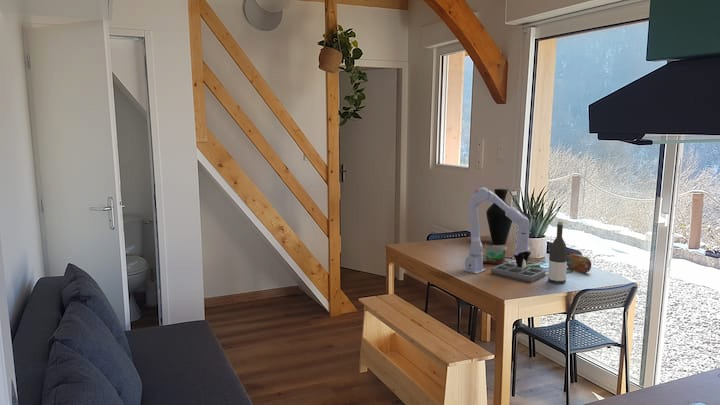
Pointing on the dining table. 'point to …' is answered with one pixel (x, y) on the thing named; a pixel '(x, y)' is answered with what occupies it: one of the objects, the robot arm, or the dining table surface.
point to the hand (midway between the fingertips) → (521, 266)
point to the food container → (495, 254)
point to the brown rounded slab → (578, 263)
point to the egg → (523, 265)
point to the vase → (498, 220)
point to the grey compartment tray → (518, 272)
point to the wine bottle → (558, 258)
